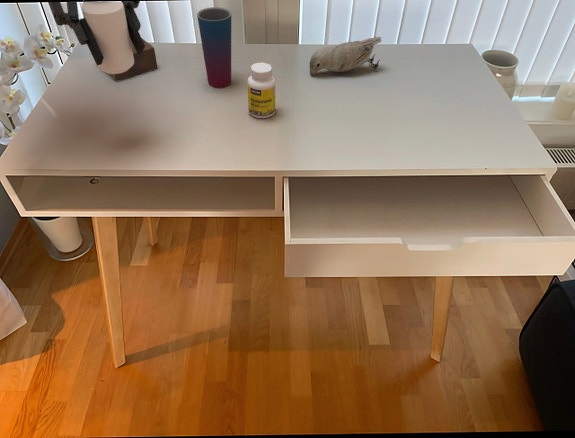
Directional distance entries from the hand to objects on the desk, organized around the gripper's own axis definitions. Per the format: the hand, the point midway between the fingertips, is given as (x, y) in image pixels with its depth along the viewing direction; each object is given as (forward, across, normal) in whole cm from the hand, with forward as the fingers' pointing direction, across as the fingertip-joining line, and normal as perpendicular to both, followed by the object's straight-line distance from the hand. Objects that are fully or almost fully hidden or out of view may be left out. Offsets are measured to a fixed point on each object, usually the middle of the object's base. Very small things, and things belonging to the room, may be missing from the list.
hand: (121, 55), depth 81 cm
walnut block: (-9, -12, -35) cm, 38 cm away
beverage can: (0, 0, -5) cm, 5 cm away
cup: (+4, -25, -22) cm, 33 cm away
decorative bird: (+13, -50, -13) cm, 53 cm away
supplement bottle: (+15, -25, -11) cm, 31 cm away
